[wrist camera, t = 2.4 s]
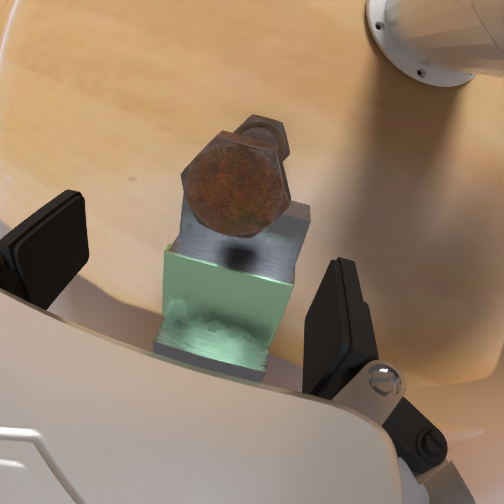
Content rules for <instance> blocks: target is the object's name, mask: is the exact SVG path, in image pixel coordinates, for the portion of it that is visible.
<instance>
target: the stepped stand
mask: <svg viewBox="0 0 504 504" xmlns="http://www.w3.org/2000/svg"><path fill="white" fill-rule="evenodd" d="M310 222H311V220H310V206H309V205H306V204H302V203H298V202H295V201H291V203H290V207H289V208H288V209H287V210H286V211H285V212H284V213H283V214H282V215H281V216H280V217H279V218H278V219H277V220H275V221H274V222H273V223H272V224H271V225H269V226H268V227H267V228H265V229H264V230H263V231H261V232H260V233H259V234H257V235H255V236H254V237H252V238H238V237H232V236H227V235H224V234H220V233H218V232H215V231H213V230H210V229H208V228H206V227H205V226H203V225H201V224H199V223H198V221H197V220H196V218H195V217H194V215H193V213H192V211H191V209H190V207H189V205H188V202H187V200H186V197H185V193H184V195H183V204H182V213H181V222H180V233H179V235H178V237H177V238H176V240H175V241H174V243H173V244H172V245H171V244H169V245H168V246H167V248H166V249H165V251H164V273H163V316H164V320H163V322H162V324H161V326H160V328H159V330H158V332H157V334H156V336H155V338H154V340H153V346H154V347H153V348H154V353H155V354H158V355H161V356H164V357H167V358H170V359H174V360H177V361H180V362H183V363H187V364H190V365H193V366H197V367H200V368H204V369H207V370H211V371H215V372H218V373H222V374H226V375H230V376H234V377H238V378H242V379H246V380H250V381H254V382H258V383H261V381H262V379H263V377H264V374H265V373H266V367H267V360H268V353H269V347H270V344H271V342H272V339H273V337H274V335H275V332H276V330H277V327H278V325H279V323H280V320H281V318H282V315H283V313H284V310H285V308H286V305H287V303H288V300H289V298H290V295H291V293H292V290H293V288H294V277H295V264H296V261H297V258H298V256H299V253H300V250H301V247H302V244H303V242H304V239H305V236H306V233H307V230H308V227H309V225H310Z"/></svg>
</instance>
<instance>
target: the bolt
mask: <svg viewBox="0 0 504 504" xmlns="http://www.w3.org/2000/svg"><path fill="white" fill-rule="evenodd" d="M289 154H290V150H289V145H288V141H287V137H286V133H285V129H284V126H283V123H282V122H279V121H276V120H273V119H270V118H266V117H262V116H258V115H253V114H252V115H251V116H250V117H249V118H248V119H247V120H246V121H245V122H244V123H243V124H242V125H241V126H240V127H239V128H238V129H237V130H236V131H234V132H233V133H231V132H227V131H221V132H220V133H219V134H218V135H217V136H216V137H215V138H214V139H212V140H211V141H210V142H209V143H208V144H207V145H206V147H205V148H204V149H203V150H202V151H201V152H200V153H199V154H198V155H197V156H196V157H195V158H194V159H193V161H192V162H191V163H190V164H189V165H188V166H187V167H186V168H185V170H184V171H183V172H182V173H181V180H182V185H183V190H184V193H185V197H186V200H187V202H188V205H189V207H190V209H191V211H192V213H193V215H194V217H195V218H196V220H197V221H198V223H199V224H201V225H203V226H205V227H206V228H208V229H210V230H213V231H215V232H218V233H220V234H224V235H227V236H232V237H238V238H252V237H254V236H255V235H257V234H259V233H260V232H261V231H263V230H264V229H265V228H267V227H268V226H269V225H271V224H272V223H273V222H274V221H275V220H277V219H278V218H279V217H280V216H281V215H282V214H283V213H284V212H285V211H286V210H287V209H288V208H289V207H290V203H291V195H290V191H289V187H288V183H287V179H286V175H285V171H284V167H283V163H282V162H283V161H284V160H285V159H286V158H287V157H288V156H289Z"/></svg>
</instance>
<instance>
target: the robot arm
mask: <svg viewBox="0 0 504 504" xmlns="http://www.w3.org/2000/svg"><path fill="white" fill-rule="evenodd" d="M366 15H367V21H368V26H369V28H370V31H371V34H372V36H373V38H374V40H375V42H376V43H377V45H378V47H379V49H380V50H381V51H382V53H383V54H384V55H385V56H386V58H387V59H388V60H389V61H390V62H391V63H392V64H393V65H394V66H395V67H396V68H398V69H399V70H400V71H402V72H403V73H405V74H406V75H407V76H409V77H411V78H413V79H415V80H417V81H419V82H422V83H425V84H428V85H433V86H438V87H452V86H458V85H461V84H463V83H466V82H468V81H469V80H471V79H472V78H473V77H475V76H476V74H478V75H486V76H493V77H500V78H504V0H367V2H366ZM376 25H378V26H379V27H380V30H378V29H376ZM418 70H419V71H420V75H418V74H417V71H418ZM88 259H89V248H88V238H87V227H86V214H85V200H84V197H82V194H81V193H80V192H77V191H73V190H66V191H64V192H63V193H61V194H60V195H58V196H57V197H55V198H54V199H53V200H51V201H50V202H48V203H47V204H46V205H44V206H43V207H41V208H40V209H39V210H37V211H36V212H35V213H33V214H32V215H31V216H29V217H28V218H27V219H25V220H24V221H23V222H22V223H20V224H19V225H18V226H17V227H15V228H14V229H13V230H12V231H10V232H9V233H8V234H7V235H5V236H4V237H3V238H2V239H1V240H0V504H475V501H474V498H473V496H472V495H471V493H470V491H469V490H468V488H467V486H466V484H465V483H464V481H463V479H462V477H461V476H460V474H459V472H458V470H457V469H456V467H455V466H454V464H453V462H452V461H449V462H447V460H446V458H445V457H446V455H447V442H446V439H445V437H444V435H443V434H442V433H441V432H440V431H439V430H438V429H437V428H436V427H435V426H434V425H433V424H432V423H431V422H430V421H429V420H428V419H427V418H426V417H424V415H422V414H421V413H420V412H419V411H418V410H417V409H416V408H415V407H414V406H413V405H412V404H411V403H410V402H409V401H407V399H405V398H404V397H403V395H404V393H405V390H406V382H405V378H404V376H403V374H402V373H401V371H400V370H399V369H398V368H397V367H396V366H394V365H393V364H391V363H390V362H387V361H384V360H379V358H378V352H377V346H376V341H375V336H374V330H373V325H372V320H371V316H370V311H369V306H368V304H367V303H366V302H363V297H362V293H361V288H360V283H359V279H358V275H357V270H356V266H355V262H354V261H351V260H348V259H344V258H340V257H338V258H337V260H336V261H335V260H331V262H330V264H329V266H328V268H327V271H326V273H325V275H324V277H323V280H322V282H321V284H320V286H319V289H318V291H317V293H316V295H315V298H314V300H313V302H312V304H311V306H310V308H309V311H308V313H307V315H306V318H305V324H304V361H303V386H302V393H301V392H297V391H293V390H289V389H284V388H280V387H275V386H270V385H266V384H262V383H258V382H254V381H250V380H246V379H242V378H238V377H234V376H230V375H226V374H222V373H218V372H215V371H211V370H207V369H204V368H200V367H197V366H193V365H190V364H187V363H183V362H180V361H177V360H174V359H170V358H167V357H164V356H161V355H158V354H155V353H152V352H149V351H146V350H143V349H140V348H137V347H134V346H132V345H129V344H126V343H123V342H121V341H118V340H115V339H113V338H110V337H107V336H105V335H102V334H100V333H97V332H95V331H92V330H90V329H87V328H85V327H83V326H80V325H78V324H75V323H73V322H71V321H68V320H66V319H64V318H62V317H59V316H57V315H55V314H53V313H50V312H48V311H46V310H47V309H48V308H49V306H50V305H51V304H52V303H53V301H54V300H55V299H56V298H57V297H58V295H59V294H60V293H61V292H62V291H63V289H64V288H65V287H66V286H67V285H68V283H69V282H70V281H71V280H72V279H73V278H74V276H75V275H76V274H77V273H78V272H79V271H80V270H81V268H82V267H83V266H84V265H85V264H86V263H87V261H88Z"/></svg>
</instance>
